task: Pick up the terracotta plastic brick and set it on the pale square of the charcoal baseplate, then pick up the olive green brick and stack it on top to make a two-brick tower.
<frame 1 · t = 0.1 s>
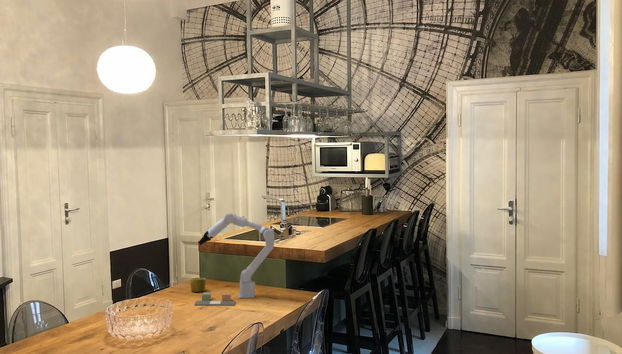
hand: (200, 242, 304), 32 cm above the table, fingers open, 7 cm apart
green brick: (206, 300, 295), on the table
mug: (198, 291, 318), on the table
terracotta brick: (226, 300, 296), on the table
baseplate: (215, 303, 288), on the table
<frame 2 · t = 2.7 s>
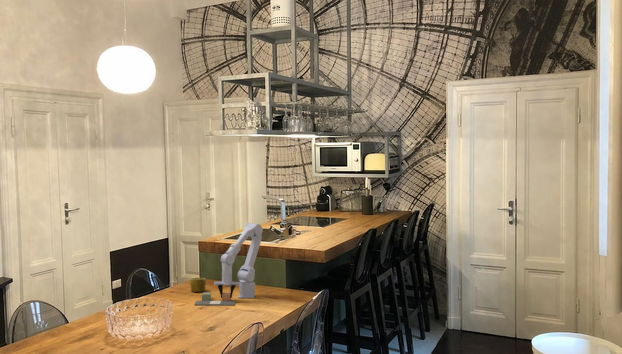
hand: (226, 297, 296), 1 cm above the table, fingers closed on terracotta brick, 5 cm apart
terracotta brick: (226, 300, 296), on the table, touching gripper
everything else where it was.
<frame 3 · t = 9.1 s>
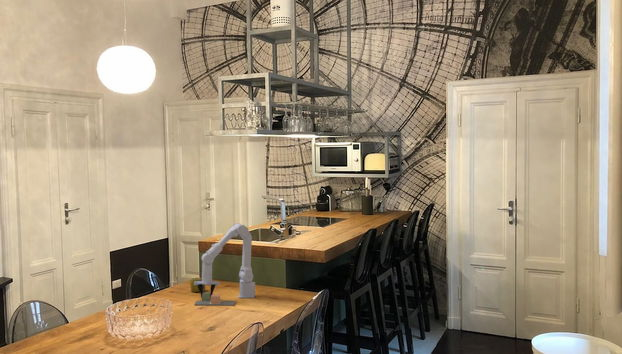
hand: (206, 297, 295), 1 cm above the table, fingers closed on green brick, 5 cm apart
green brick: (206, 300, 295), on the table, touching gripper
terracotta brick: (215, 302, 288), point 1 cm above the table, touching baseplate
everything else where it was.
when the fingers open (7 cm above the table, at t = 12.5 s): green brick stays where it is, resting on terracotta brick.
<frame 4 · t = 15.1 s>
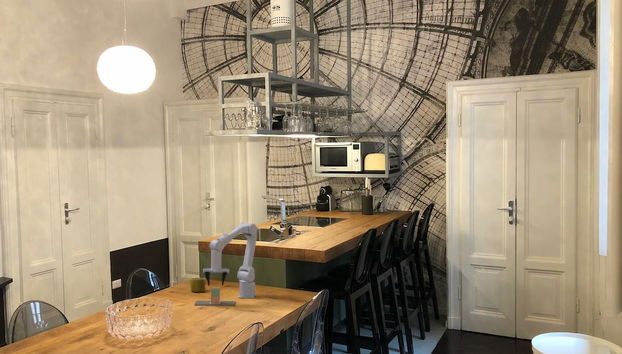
hand: (215, 285, 288), 10 cm above the table, fingers open, 7 cm apart
green brick: (215, 295, 288), point 5 cm above the table, touching terracotta brick
terracotta brick: (215, 302, 288), point 1 cm above the table, touching baseplate, green brick
everything else where it was.
at the end: terracotta brick 0.0 cm off-centre on the baseplate, point 0.7 cm above the baseplate's base; green brick 0.0 cm off-centre on the terracotta brick, point 4.0 cm above the terracotta brick's base; green brick tilted 0° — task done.
